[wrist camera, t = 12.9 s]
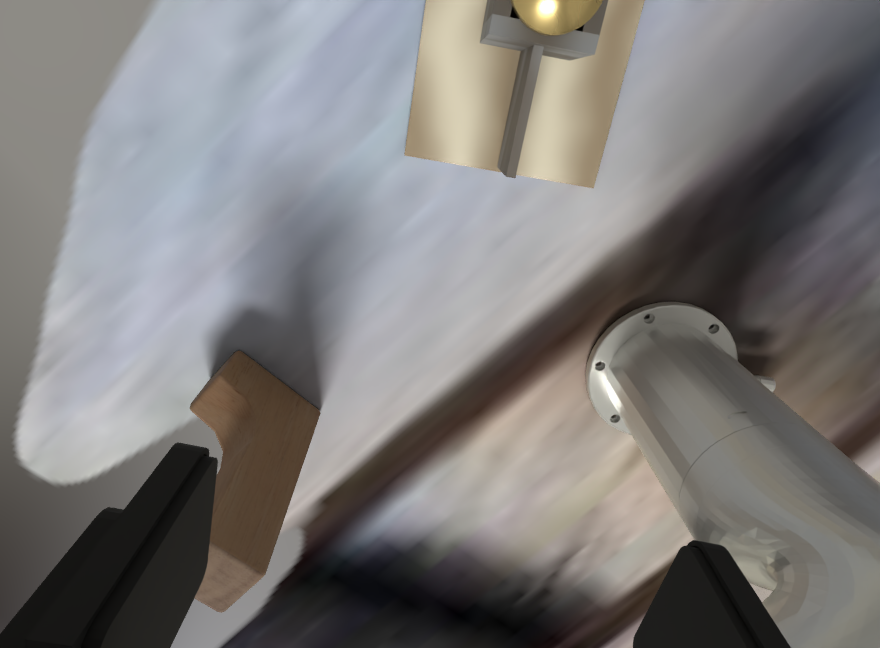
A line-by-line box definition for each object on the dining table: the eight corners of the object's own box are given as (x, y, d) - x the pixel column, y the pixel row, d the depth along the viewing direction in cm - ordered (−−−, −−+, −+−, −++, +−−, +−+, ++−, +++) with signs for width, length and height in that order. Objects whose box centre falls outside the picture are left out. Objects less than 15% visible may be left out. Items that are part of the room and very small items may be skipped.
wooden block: (207, 381, 47) (85, 538, 30) (239, 346, 46) (130, 491, 29) (291, 441, 49) (221, 617, 33) (323, 410, 48) (267, 576, 31)
